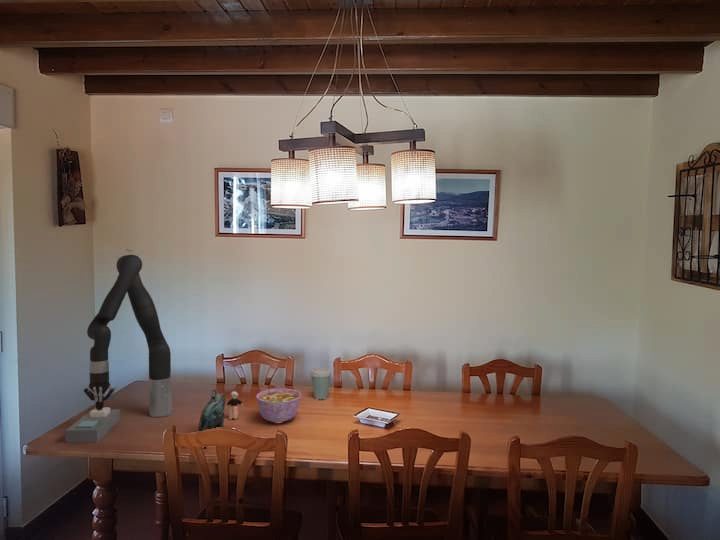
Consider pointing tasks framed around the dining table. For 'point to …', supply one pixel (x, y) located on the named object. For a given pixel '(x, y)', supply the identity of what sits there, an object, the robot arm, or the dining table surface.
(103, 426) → the key box
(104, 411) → the cream key
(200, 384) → the dining table surface
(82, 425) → the teal key
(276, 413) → the bowl of food
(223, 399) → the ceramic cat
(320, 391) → the disposable coffee cup
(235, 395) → the grandmother figurine
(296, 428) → the dining table surface
